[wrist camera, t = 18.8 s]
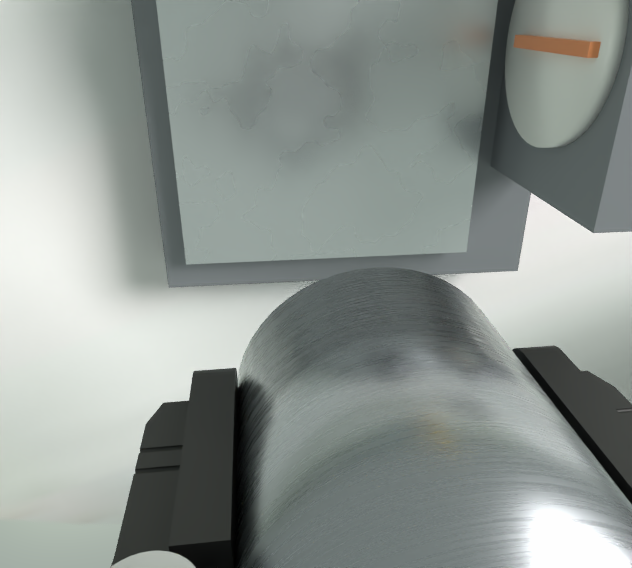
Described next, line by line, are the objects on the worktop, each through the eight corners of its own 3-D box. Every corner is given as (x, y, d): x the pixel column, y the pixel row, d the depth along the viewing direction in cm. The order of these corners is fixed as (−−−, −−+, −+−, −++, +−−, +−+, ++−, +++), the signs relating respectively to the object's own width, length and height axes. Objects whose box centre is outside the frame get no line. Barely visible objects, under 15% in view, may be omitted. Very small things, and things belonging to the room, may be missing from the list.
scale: (568, -271, 20) (871, -537, 10) (492, 246, 29) (617, 368, 19) (109, -292, 19) (-47, -627, 9) (176, 260, 27) (135, 399, 18)
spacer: (516, 259, 10) (844, 563, 4) (481, 473, 12) (671, 849, 7) (226, 276, 9) (200, 639, 4) (246, 496, 12) (246, 920, 6)
